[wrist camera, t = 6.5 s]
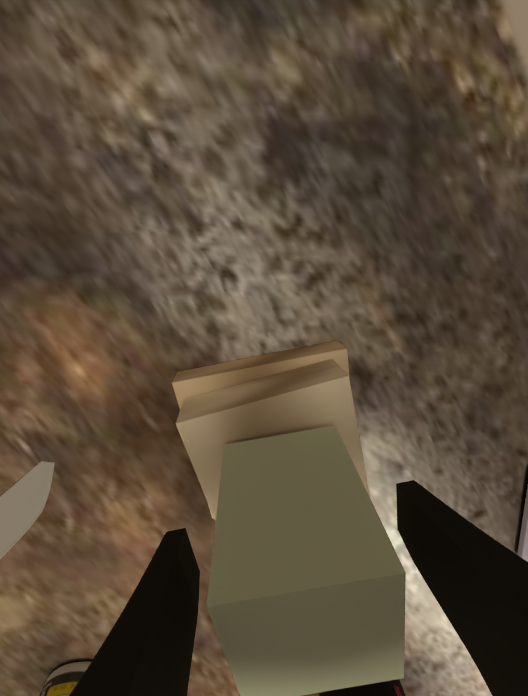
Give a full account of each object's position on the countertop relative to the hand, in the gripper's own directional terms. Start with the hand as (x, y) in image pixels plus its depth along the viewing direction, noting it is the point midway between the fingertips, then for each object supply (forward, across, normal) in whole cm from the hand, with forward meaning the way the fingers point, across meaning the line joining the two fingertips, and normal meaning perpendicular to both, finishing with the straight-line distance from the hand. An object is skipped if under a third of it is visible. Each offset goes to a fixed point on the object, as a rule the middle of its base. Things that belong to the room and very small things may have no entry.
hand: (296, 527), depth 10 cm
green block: (+3, 0, 0) cm, 3 cm away
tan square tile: (+5, 0, 0) cm, 5 cm away
